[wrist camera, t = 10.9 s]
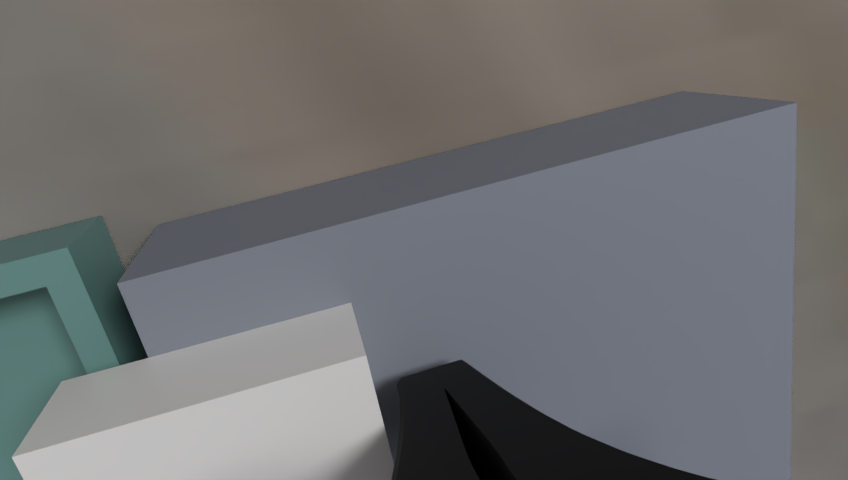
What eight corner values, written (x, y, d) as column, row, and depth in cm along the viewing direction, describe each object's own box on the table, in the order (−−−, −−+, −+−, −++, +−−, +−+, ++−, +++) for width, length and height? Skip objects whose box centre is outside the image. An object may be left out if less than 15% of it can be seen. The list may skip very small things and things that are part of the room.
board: (705, 535, 20) (788, 628, 17) (331, 678, 18) (343, 816, 15) (684, 91, 15) (797, 102, 12) (157, 225, 13) (117, 283, 10)
